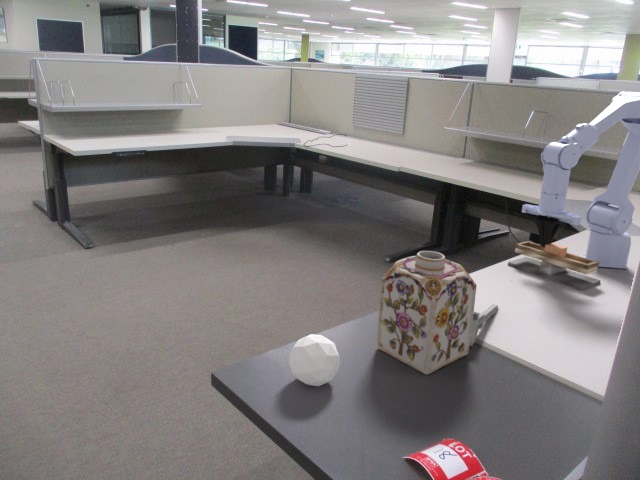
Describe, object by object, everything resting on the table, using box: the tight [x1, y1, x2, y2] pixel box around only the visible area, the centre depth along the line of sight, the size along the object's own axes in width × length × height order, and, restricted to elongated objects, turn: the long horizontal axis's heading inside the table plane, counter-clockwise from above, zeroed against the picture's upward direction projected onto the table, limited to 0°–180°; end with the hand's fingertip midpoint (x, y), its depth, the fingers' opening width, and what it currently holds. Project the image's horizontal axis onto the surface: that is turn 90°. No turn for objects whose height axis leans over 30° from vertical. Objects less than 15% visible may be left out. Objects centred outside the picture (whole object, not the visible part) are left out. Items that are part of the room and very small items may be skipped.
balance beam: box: [507, 240, 602, 291], centre depth 132 cm, size 20×8×6 cm, turn 36°
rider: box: [544, 242, 568, 257], centre depth 131 cm, size 4×3×2 cm
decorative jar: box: [376, 250, 477, 376], centre depth 90 cm, size 12×12×18 cm
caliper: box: [469, 303, 499, 347], centre depth 103 cm, size 20×1×6 cm, turn 150°
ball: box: [288, 333, 340, 387], centre depth 82 cm, size 8×8×8 cm
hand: (545, 246), depth 133 cm, fingers closed
